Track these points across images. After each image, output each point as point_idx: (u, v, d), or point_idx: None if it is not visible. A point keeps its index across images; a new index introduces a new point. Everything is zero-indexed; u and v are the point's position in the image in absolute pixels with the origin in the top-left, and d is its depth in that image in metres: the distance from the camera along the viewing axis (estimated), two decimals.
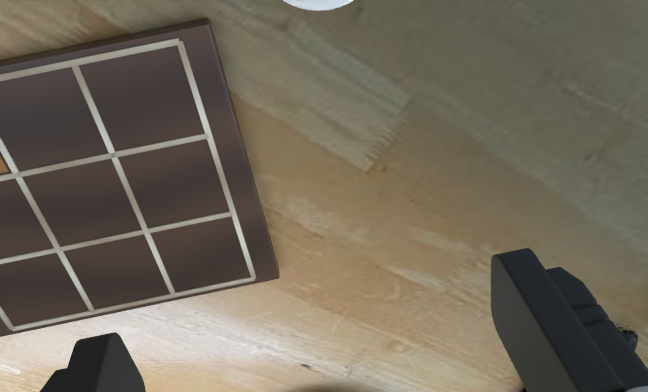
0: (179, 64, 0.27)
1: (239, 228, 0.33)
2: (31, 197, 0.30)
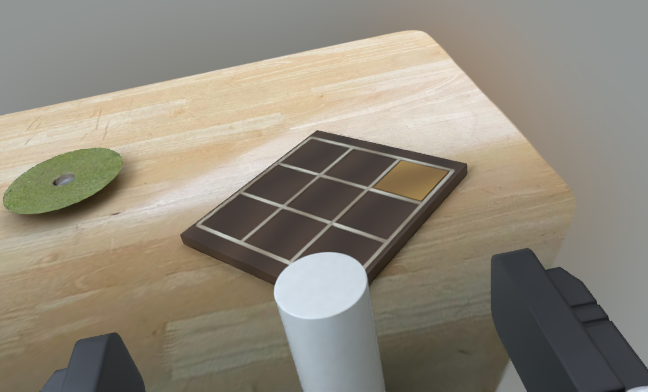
0: None
1: (229, 238, 0.44)
2: (353, 185, 0.47)
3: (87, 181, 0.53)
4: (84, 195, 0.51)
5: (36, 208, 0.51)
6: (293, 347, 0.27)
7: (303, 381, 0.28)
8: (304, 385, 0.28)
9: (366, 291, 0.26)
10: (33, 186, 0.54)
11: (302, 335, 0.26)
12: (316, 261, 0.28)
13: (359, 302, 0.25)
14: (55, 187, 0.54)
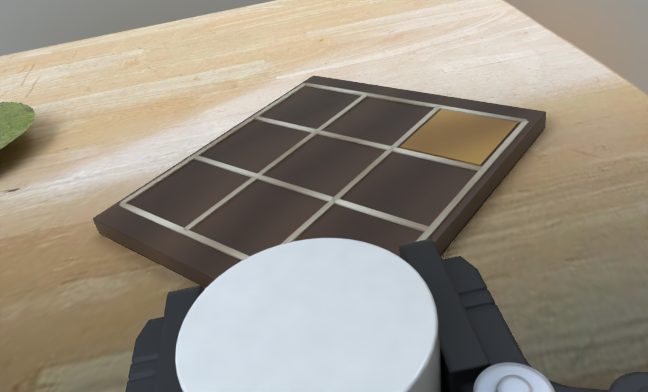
0: None
1: (167, 225, 0.27)
2: (368, 144, 0.30)
3: None
4: None
5: None
6: None
7: None
8: None
9: (436, 348, 0.09)
10: None
11: None
12: (296, 261, 0.11)
13: (420, 383, 0.08)
14: None
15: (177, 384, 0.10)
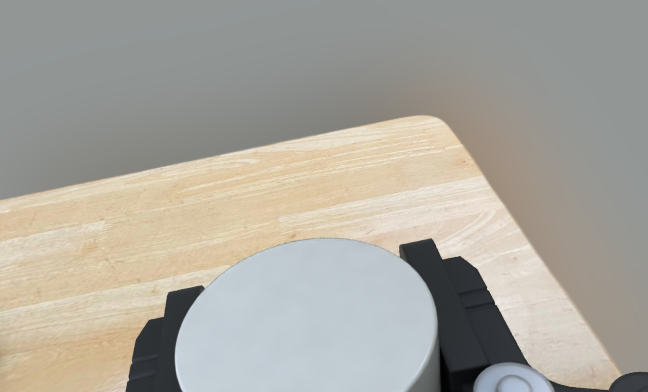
0: None
1: None
2: None
3: None
4: None
5: None
6: None
7: None
8: None
9: (436, 348, 0.09)
10: None
11: None
12: (295, 261, 0.11)
13: (420, 383, 0.08)
14: None
15: (177, 384, 0.10)
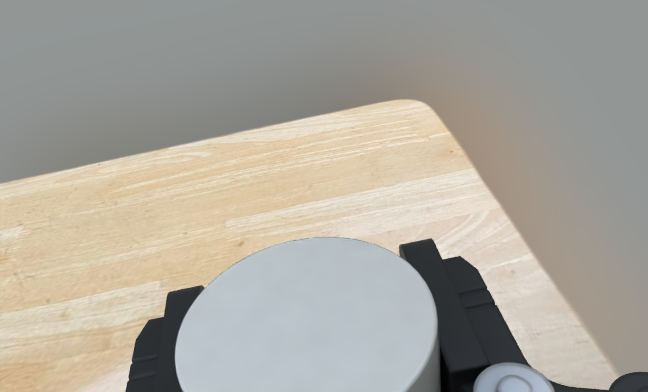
0: None
1: None
2: None
3: None
4: None
5: None
6: None
7: None
8: None
9: (436, 347, 0.09)
10: None
11: None
12: (296, 260, 0.11)
13: (420, 382, 0.08)
14: None
15: (177, 384, 0.10)
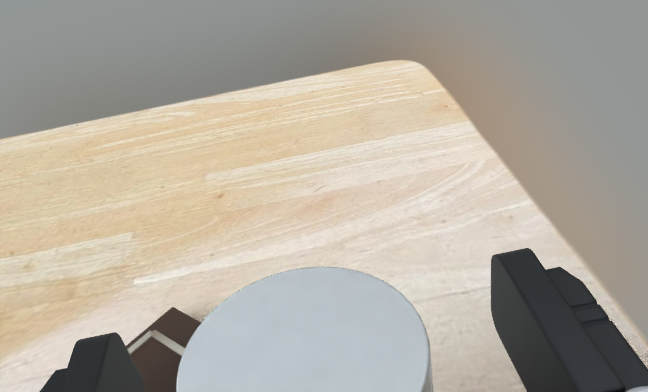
0: None
1: None
2: None
3: None
4: None
5: None
6: None
7: None
8: None
9: (429, 380, 0.09)
10: None
11: None
12: (292, 290, 0.11)
13: None
14: None
15: None
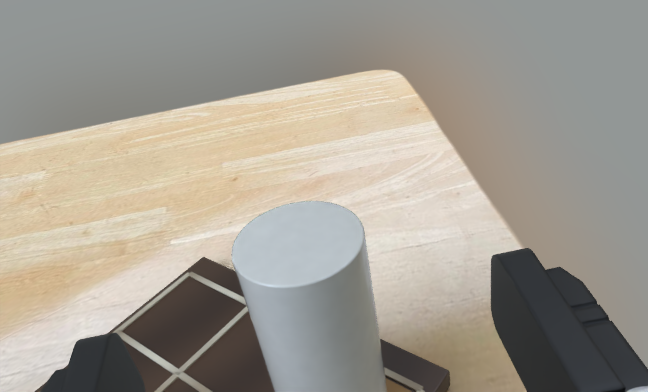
0: None
1: None
2: None
3: None
4: None
5: None
6: (259, 331, 0.19)
7: (274, 380, 0.20)
8: (276, 386, 0.21)
9: (363, 250, 0.18)
10: None
11: (270, 313, 0.18)
12: (293, 212, 0.20)
13: (352, 264, 0.17)
14: None
15: None
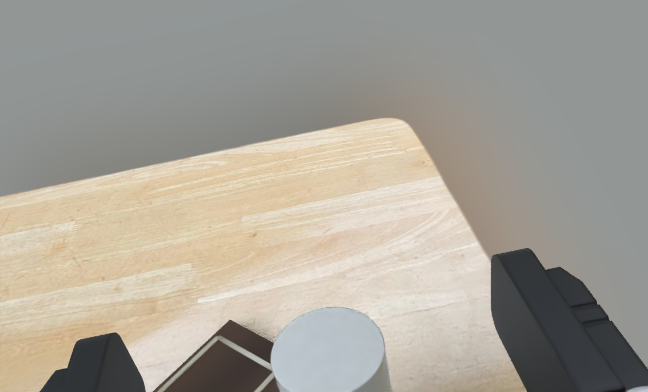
0: None
1: None
2: None
3: None
4: None
5: None
6: None
7: None
8: None
9: (383, 361, 0.21)
10: None
11: None
12: (321, 319, 0.23)
13: (375, 376, 0.20)
14: None
15: None
